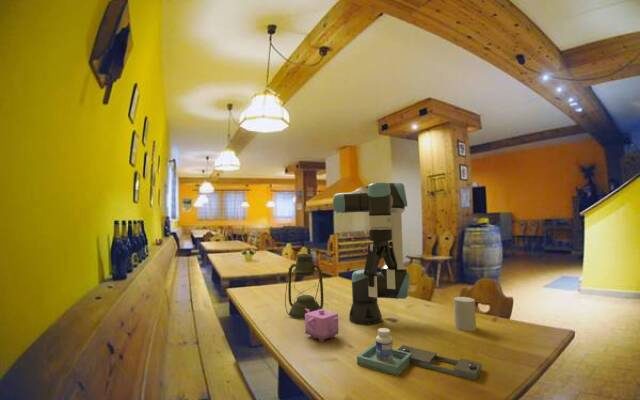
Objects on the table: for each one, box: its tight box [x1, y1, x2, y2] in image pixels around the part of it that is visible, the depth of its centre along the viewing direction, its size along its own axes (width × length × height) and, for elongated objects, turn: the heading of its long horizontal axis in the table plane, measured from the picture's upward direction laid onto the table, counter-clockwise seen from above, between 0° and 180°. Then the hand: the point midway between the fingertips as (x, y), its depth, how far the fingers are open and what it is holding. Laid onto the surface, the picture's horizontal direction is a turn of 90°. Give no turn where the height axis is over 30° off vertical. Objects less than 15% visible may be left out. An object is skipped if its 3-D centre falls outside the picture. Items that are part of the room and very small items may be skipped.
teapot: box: [304, 308, 340, 343], centre depth 129 cm, size 15×13×11 cm
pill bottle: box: [375, 327, 394, 363], centre depth 105 cm, size 5×5×10 cm
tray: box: [356, 343, 412, 377], centre depth 105 cm, size 14×12×2 cm
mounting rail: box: [393, 344, 482, 382], centre depth 103 cm, size 26×8×3 cm, turn 53°
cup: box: [453, 296, 477, 332], centre depth 136 cm, size 8×8×12 cm
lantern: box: [284, 253, 324, 320], centre depth 162 cm, size 21×18×30 cm
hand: (382, 292), depth 106 cm, fingers open, 13 cm apart
